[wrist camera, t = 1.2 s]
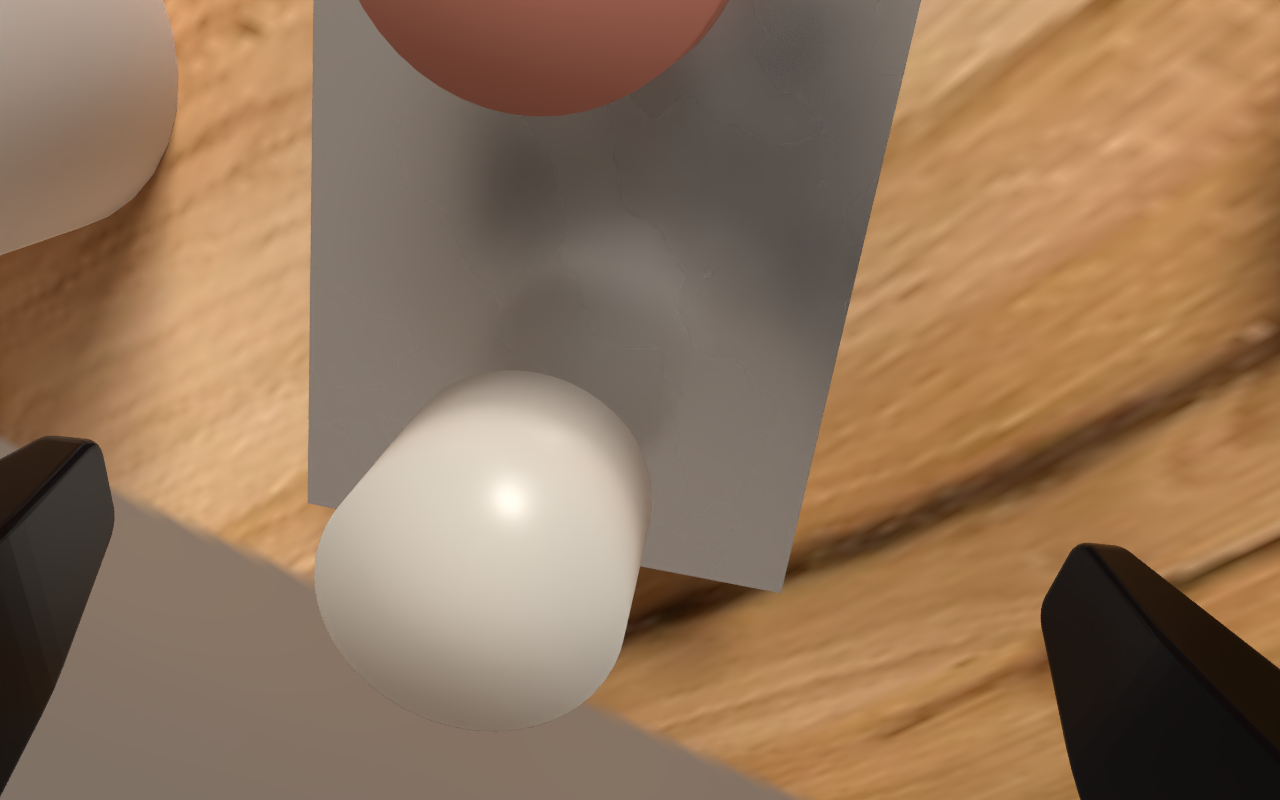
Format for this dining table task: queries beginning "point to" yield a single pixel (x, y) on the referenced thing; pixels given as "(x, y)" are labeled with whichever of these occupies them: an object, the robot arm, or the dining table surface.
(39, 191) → the cup
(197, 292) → the dining table surface
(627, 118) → the console
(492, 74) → the knob middle
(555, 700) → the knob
